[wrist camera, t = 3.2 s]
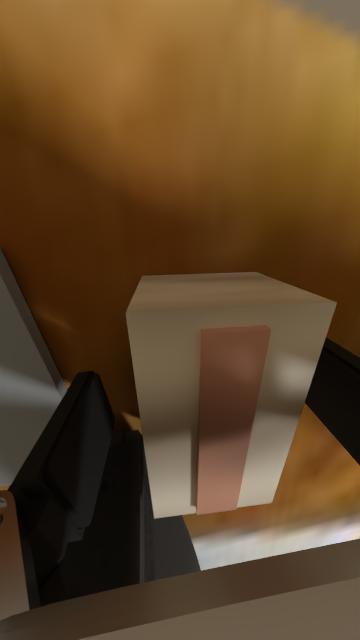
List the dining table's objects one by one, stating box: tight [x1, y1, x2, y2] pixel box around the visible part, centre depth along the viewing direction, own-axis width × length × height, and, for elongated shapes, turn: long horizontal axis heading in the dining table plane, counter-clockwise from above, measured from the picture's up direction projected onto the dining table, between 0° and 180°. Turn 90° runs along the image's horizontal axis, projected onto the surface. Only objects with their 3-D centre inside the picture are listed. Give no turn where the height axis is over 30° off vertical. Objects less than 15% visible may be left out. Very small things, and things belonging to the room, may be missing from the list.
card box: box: [126, 272, 337, 519], centre depth 8 cm, size 9×5×5 cm, turn 1°
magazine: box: [63, 429, 201, 599], centre depth 12 cm, size 17×3×30 cm
